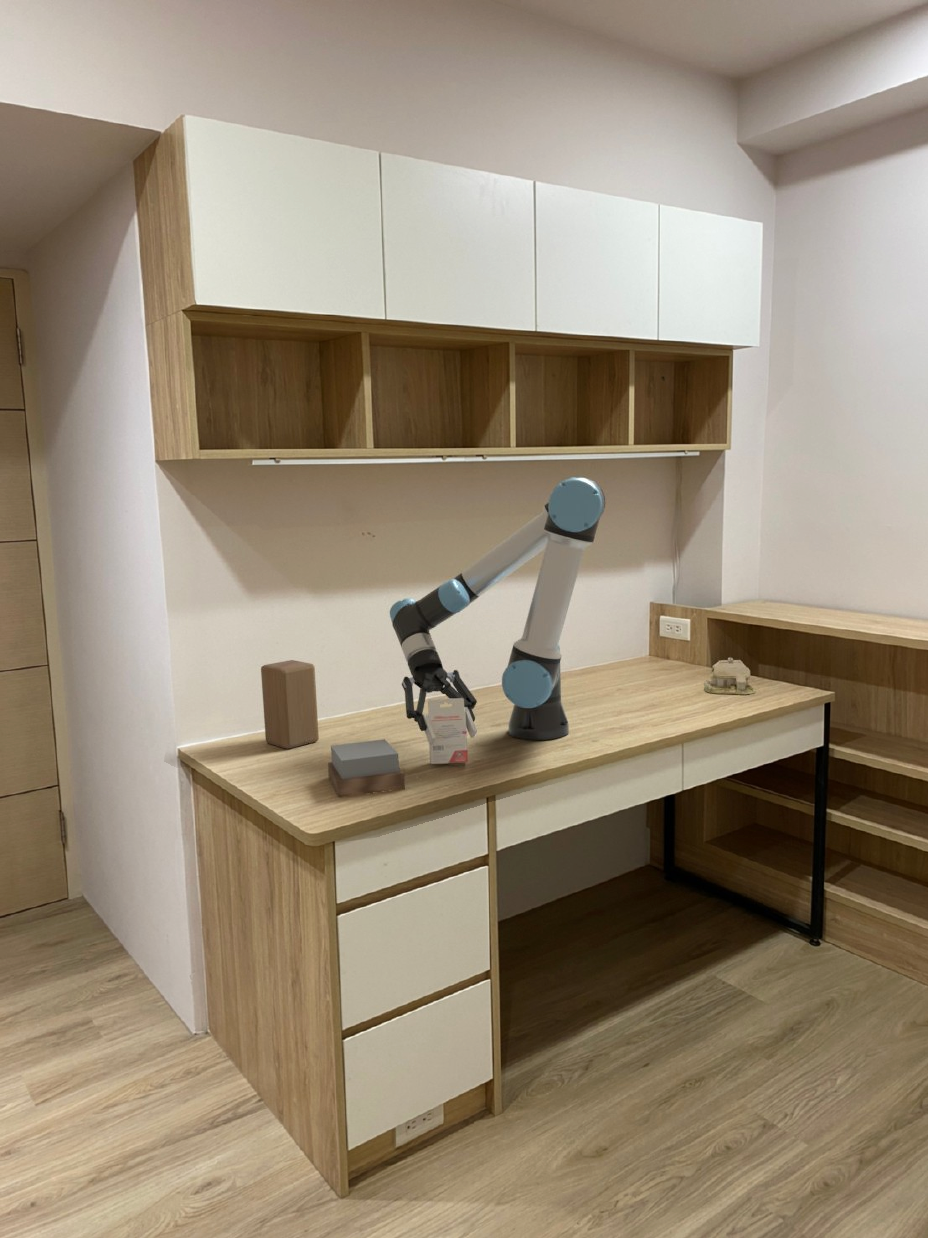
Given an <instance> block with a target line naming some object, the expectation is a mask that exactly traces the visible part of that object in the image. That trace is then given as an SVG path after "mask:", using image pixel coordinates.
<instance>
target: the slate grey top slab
mask: <svg viewBox="0 0 928 1238" xmlns="http://www.w3.org/2000/svg"><path fill="white" fill-rule="evenodd" d="M330 751H331V752H330V753H331V755H330V756H331V762H332V764H333V766H334V767H335V769H336V770H337V772H338V773H339V775H340V776H341V778H342V779H350V778H357V777H365V776H372V775H380V774H387V773H395V772H399V767H400V764H399V763H400V760H399V752H398V751H397V750H396V748H394V747H393V746H392V745H391V744H390V743H389V742H388V741H387V740H386V739H385V738H384V739H383V738H382V739H377V740H376V739H375V740H367V741H360V742H351V743H343V744H336V745H330Z"/></svg>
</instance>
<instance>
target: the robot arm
mask: <svg viewBox="0 0 928 1238" xmlns="http://www.w3.org/2000/svg"><path fill="white" fill-rule="evenodd" d="M605 508H606V496H605V494H604V491H603V489H602V488H601V486H600V485H599V484H598V483H597V482H596V481H594V480H593V479H590V478H587V477H578V476H575V477H569V478H567V479H566V478H565V479H564V480H562V481H561V482H560V483H558V484H557V485H556V486H555V487H554V488H553V490H552V492H551V493H550V496H549V497H548V502H546V504H544V505H543V508H542V512H541V513H539V514H538V515H537V516H535V517H534V518H532V519H531V520H530V521H529V522H528V523H525V524H524V525H523V526H522V527H521V528H519V529H517V530H516V531H515V532H513V533H512V534H511V535H510V536H509V537H508V538H506V539H504V540H502V542H501V543H499V544H498V545H497V546H495V547H494V548H492V549H491V550H490V551H489V552H487V553H485V555H483V556H481V558H479V559H477V561H475V562H474V563H473V564H471V565H470V566H469V567H466V569H465V570H463V571H461V572H460V573H459V574H458V575H456V576H455V577H454V578H451V579H449V580H448V581H446V582H443V583H442V584H440V585H439V586H438V587H437V588H435V589H432V591H430V592H429V593H428V594H426V595H425V596H423V597H421V599H419V600H415V599H413V598H403V600H398V601H396V602H395V603H393V604H392V605H391V608H390V609H389V617H390V619H391V623H392V628H393V630H394V632H395V634H396V638H397V639H398V640H397V641H398V642H399V644H400V647H401V650H402V653H403V655H404V658H405V661H406V662H407V666H408V669H409V671H410V674H411V677H409V676H404V677H403V680H402V683H401V686H402V688H403V690H404V697H405V698H404V701H405V713H406V718H407V719H408V720H410V719H413V720H414V722H415V723H417V724H418V727H419V730H420V731H421V732H424V734H425V736H426V739H427V742H428V745H433V743H434V741H435V739H436V737H435V734H434V732H433V729H432V726H431V724H430V721H429V719H428V712H427V713H424V712H423V711H424V708H425V703H426V698H427V694H429V693H433V692H440V693H441V694H442V695H445V696H446V697H447V699H451V698H453V699H455V698H463V699H464V707H465V714H466V730H467V732H468V735H469V737H470V738H471V739H473V738H475V737H476V735H477V732H478V729H477V727H476V725H475V720H476V717H475V714H474V711H473V709H474V708H476V705H477V703H478V700H477V699H476V698H475V696H474V695H473V693H472V692H471V690H470V689H469V687H468V686H467V685H466V684H465V682H464V681H463V680H462V677H461V676H460V673H459V670H458V669H454V670H453V671H452V672H447V671H446V670H445V669H444V667H443V663H442V660H441V658H440V655H439V653H438V651H437V648H436V645H435V642H434V641H433V638H432V635H431V633H430V630H431V631H432V630H433V629H435V627H437V626H438V625H440V624H441V623H444V622H445V621H447V620H449V619H450V618H452V617H453V616H455V615H456V614H458V613H460V612H461V611H462V610H464V609H466V608H468V606H470V604H472V603H473V602H474V601H476V600H478V598H480V597H481V596H482V595H484V594H485V593H486V592H488V591H489V590H490V589H492V588H493V587H495V586H496V585H497V584H499V583H500V582H502V581H503V580H504V579H506V578H507V577H509V576H510V575H511V574H513V573H514V572H516V570H518V569H520V568H521V567H523V566H524V565H525V564H526V563H527V562H529V561H530V560H531V559H533V558H535V557H536V556H537V555H538V554H540V553H542V552H543V551H544V553H543V557H542V561H541V565H540V568H539V572H538V575H537V580H536V583H535V588H534V591H533V595H532V598H531V602H530V606H529V609H528V613H527V617H526V621H525V625H524V628H523V632H522V635H521V638H519V639H517V640H516V641H514V642H513V645H512V648H511V652H510V656H509V658H508V663H507V666H506V667H505V669H504V671H503V673H502V676H501V687H502V691H503V694H504V696H505V697H506V698H507V699H508V700H509V701H510V702H511V703H512V704H513V707H512V711H511V714H510V718H509V721H508V725H507V726H508V727H507V728H508V734H509V735H510V736H511V737H514V738H517V739H521V740H531V741H537V740H538V741H542V740H552V739H554V740H555V739H559V738H561V737H565V736H567V735H568V734H569V733H570V729H569V728H570V727H569V725H570V724H569V721H568V718H567V714H566V712H565V709H564V706H563V704H562V681H561V680H562V679H561V675H562V673H561V661H562V656H563V654H562V652H561V647H560V645H559V643H560V640H561V639H560V638H561V637H562V632H563V628H564V624H565V622H566V617H567V614H568V611H569V606H570V602H571V600H572V595H573V592H574V588H575V585H576V581H577V578H578V573H579V571H580V567H581V563H582V560H583V559H582V558H583V556H584V552H585V549H586V548H587V547H589V546H591V545H592V544H593V543H594V541H595V536H596V534H597V530H598V526H599V523H600V520H601V517H602V515H603V514H604V512H605ZM451 683H452V685H453V686H452V685H451ZM414 685H415V686H416V687H418V688H419V694H418V701H417V706H416V710H415V703H414V694H413V693H414V692H413V691H414V690H413V686H414Z"/></svg>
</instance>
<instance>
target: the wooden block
mask: <svg viewBox="0 0 928 1238" xmlns="http://www.w3.org/2000/svg"><path fill="white" fill-rule="evenodd" d="M260 667H261V668H260V674H261V675H260V677H261V688H262V689H261V690H262V691H261V692H262V703H263V705H262V706H263V716H264V717H263V718H264V735H265V741H266V743H268V744H269V745H274V746H276V747H280V748H283V749H287V750H289V749H293V748H297V747H301V746H304V745H308V743H309V744H313V743H316V742H318V741H319V738H320V737H319V723H318V722H319V719H318V703H317V687H316V672H315V670H316V669H315V665H314V663H310V662H304V661H299V660H295V659H290V660H284V661H280V662H279V661H278V662H273V663H267V664H264V665H262V666H260Z"/></svg>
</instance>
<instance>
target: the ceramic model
mask: <svg viewBox="0 0 928 1238" xmlns="http://www.w3.org/2000/svg"><path fill="white" fill-rule="evenodd" d="M710 673H711V674H710V676H709V677H710V678H711V680H708V679H705V680H704V681H703V686H704V691H705V692H707V693H710V694H728V695H751V694H756V689H755V688H754V687H753V686H751V685H750V684H749V680H750V679H751V670H750V669H749V667H747V666H746V665H745V664H744V663H743V661H742V660H741V659H734V658H733V657H728V658H727V660H726V659H723V660H718V662H716V663H715V664H713V665H712V666H711V672H710Z"/></svg>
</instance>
